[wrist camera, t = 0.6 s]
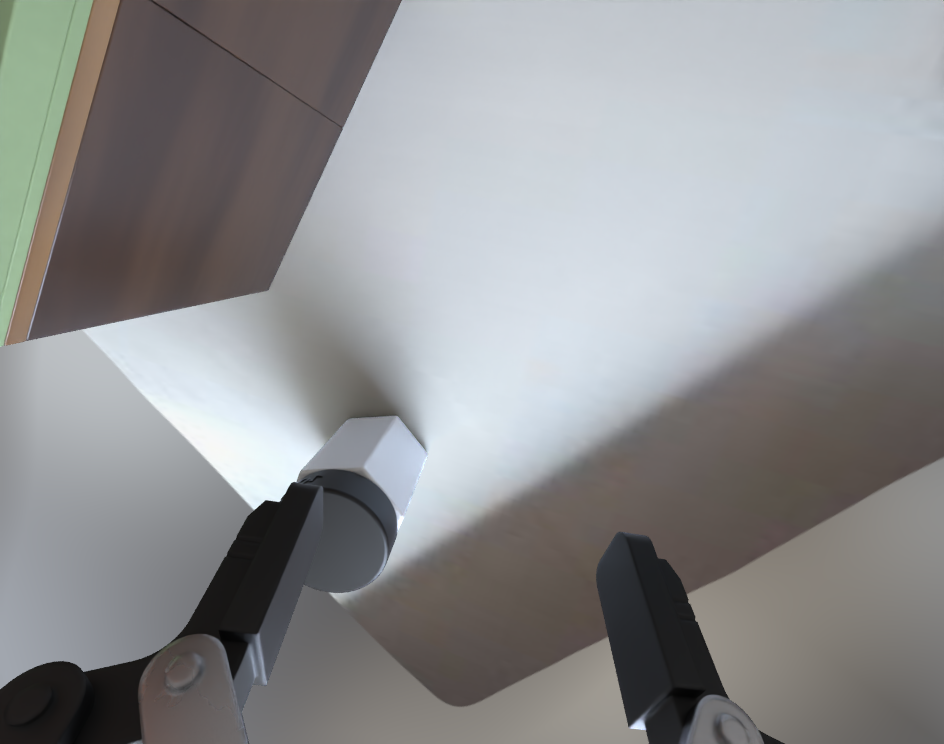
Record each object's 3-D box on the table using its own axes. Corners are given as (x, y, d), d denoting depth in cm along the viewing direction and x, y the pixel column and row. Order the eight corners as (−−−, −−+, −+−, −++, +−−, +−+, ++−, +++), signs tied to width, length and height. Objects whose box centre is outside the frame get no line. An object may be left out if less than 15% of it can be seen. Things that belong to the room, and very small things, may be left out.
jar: (354, 395, 38) (287, 462, 26) (439, 433, 38) (409, 516, 27) (323, 476, 40) (250, 569, 29) (403, 510, 41) (361, 616, 29)
